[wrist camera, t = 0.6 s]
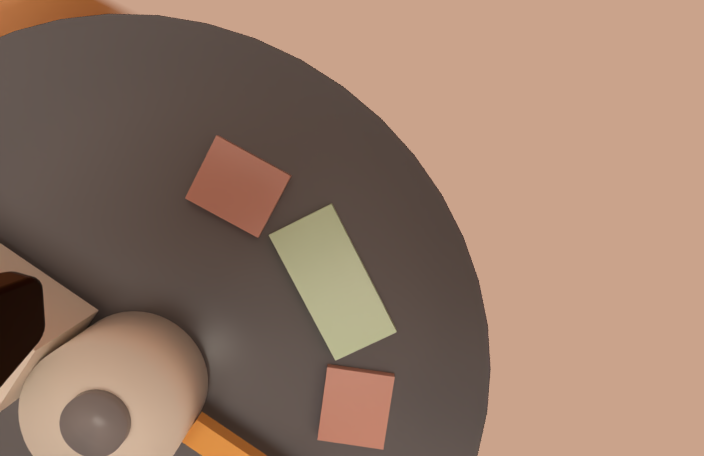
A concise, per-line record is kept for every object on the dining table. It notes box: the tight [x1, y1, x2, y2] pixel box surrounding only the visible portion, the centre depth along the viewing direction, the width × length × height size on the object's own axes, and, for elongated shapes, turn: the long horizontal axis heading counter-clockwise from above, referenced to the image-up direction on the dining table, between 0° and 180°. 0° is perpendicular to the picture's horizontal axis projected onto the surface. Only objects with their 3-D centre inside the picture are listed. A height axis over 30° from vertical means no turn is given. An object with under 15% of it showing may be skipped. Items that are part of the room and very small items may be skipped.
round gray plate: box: [0, 14, 490, 456], centre depth 21 cm, size 25×25×2 cm
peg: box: [0, 243, 267, 456], centre depth 18 cm, size 22×5×4 cm, turn 54°
